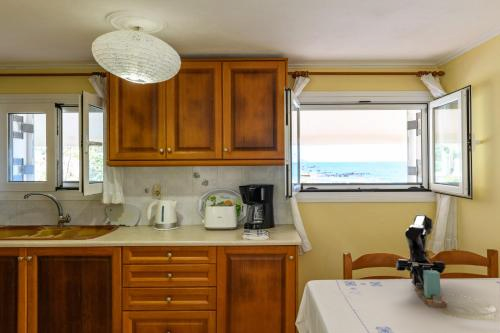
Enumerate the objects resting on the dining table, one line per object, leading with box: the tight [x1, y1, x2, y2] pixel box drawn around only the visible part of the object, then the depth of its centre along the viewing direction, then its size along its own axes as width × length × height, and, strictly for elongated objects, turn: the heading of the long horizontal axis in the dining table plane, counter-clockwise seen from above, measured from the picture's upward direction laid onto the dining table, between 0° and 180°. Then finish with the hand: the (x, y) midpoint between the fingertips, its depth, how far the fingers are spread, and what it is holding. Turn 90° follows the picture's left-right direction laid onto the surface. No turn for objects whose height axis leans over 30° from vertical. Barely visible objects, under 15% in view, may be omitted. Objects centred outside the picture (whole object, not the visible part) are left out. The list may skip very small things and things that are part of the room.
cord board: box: [414, 283, 448, 309], centre depth 138 cm, size 20×6×4 cm, turn 168°
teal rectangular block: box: [423, 269, 442, 298], centre depth 135 cm, size 4×5×10 cm
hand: (424, 284), depth 138 cm, fingers closed, pressing on teal rectangular block
